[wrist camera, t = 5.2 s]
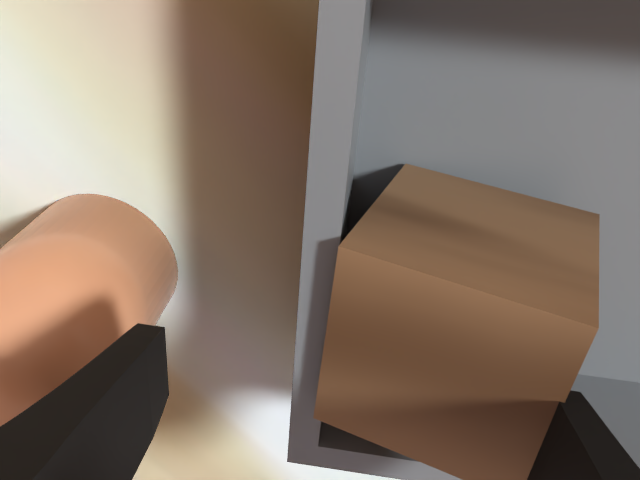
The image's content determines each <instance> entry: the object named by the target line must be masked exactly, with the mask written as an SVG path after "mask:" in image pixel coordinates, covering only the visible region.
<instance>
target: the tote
mask: <svg viewBox="0 0 640 480" xmlns="http://www.w3.org/2000/svg"><path fill="white" fill-rule="evenodd" d="M405 164H410V165H414V166H417V167H421V168H425V169H429V170H433V171H436V172H440V173H444V174H448V175H452V176H455V177H459V178H463V179H467V180H471V181H475V182H478V183H482V184H486V185H490V186H494V187H497V188H501V189H505V190H509V191H513V192H516V193H520V194H524V195H528V196H532V197H535V198H539V199H543V200H547V201H551V202H554V203H558V204H562V205H566V206H570V207H574V208H577V209H581V210H585V211H589V212H593V213H596V214H600V223H599V329H598V331H597V333H596V335H595V338H594V340H593V342H592V344H591V346H590V349H589V351H588V353H587V355H586V357H585V359H584V362H583V364H582V366H581V368H580V370H579V373H578V375H577V377H576V379H575V381H574V383H573V386H572V388H571V391H578V392H581V393H582V394H583V396H584V397H585V398H586V399H587V401H588V402H589V403H590V405H591V406H592V407H593V409H594V410H595V411H596V413H597V414H598V415H599V416H600V418H601V419H602V420H603V422H604V423H605V424H606V426H607V427H608V428H609V430H610V431H611V432H612V434H613V435H614V436H615V438H616V439H617V440H618V441H619V443H620V444H621V445H622V447H623V448H624V449H625V450H626V452H627V453H628V454H629V456H630V457H631V458H632V459H633V461H634V462H635V463H636V464H637V466H638V467H639V468H640V0H319V10H318V25H317V39H316V54H315V68H314V83H313V97H312V111H311V126H310V140H309V155H308V169H307V184H306V198H305V213H304V227H303V242H302V256H301V271H300V285H299V299H298V314H297V328H296V343H295V357H294V372H293V386H292V401H291V415H290V430H289V444H288V458H287V462H292V463H298V464H305V465H311V466H318V467H324V468H331V469H337V470H344V471H350V472H357V473H363V474H369V475H376V476H382V477H389V478H395V479H402V480H463V479H460V478H458V477H455V476H453V475H450V474H448V473H446V472H443V471H441V470H438V469H436V468H433V467H431V466H429V465H426V464H424V463H421V462H419V461H416V460H414V459H412V458H409V457H407V456H404V455H402V454H399V453H397V452H395V451H392V450H390V449H387V448H385V447H382V446H380V445H378V444H375V443H373V442H370V441H368V440H365V439H363V438H361V437H358V436H356V435H353V434H351V433H348V432H346V431H344V430H341V429H339V428H336V427H334V426H331V425H329V424H327V423H324V422H322V421H319V420H317V419H314V418H313V416H314V409H315V402H316V396H317V389H318V382H319V375H320V368H321V362H322V355H323V348H324V341H325V334H326V328H327V321H328V314H329V307H330V301H331V294H332V287H333V280H334V273H335V267H336V260H337V253H338V246H339V245H340V244H341V242H342V241H343V240H344V239H345V238H346V236H347V235H348V234H349V233H350V231H351V230H352V229H353V228H354V226H355V225H356V224H357V223H358V222H359V220H360V219H361V218H362V217H363V215H364V214H365V213H366V212H367V211H368V209H369V208H370V207H371V206H372V204H373V203H374V202H375V201H376V199H377V198H378V197H379V196H380V195H381V193H382V192H383V191H384V190H385V188H386V187H387V186H388V185H389V183H390V182H391V181H392V180H393V179H394V177H395V176H396V175H397V174H398V172H399V171H400V170H401V169H402V167H403V166H404V165H405Z"/></svg>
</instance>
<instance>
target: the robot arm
mask: <svg viewBox="0 0 640 480" xmlns="http://www.w3.org/2000/svg"><path fill="white" fill-rule="evenodd" d="M168 396H169V388H168V372H167V357H166V341H165V327H159V326H153V325H146V324H140V323H137V324H136V325H135V326H133V327H132V328H131V329H129V330H128V331H127V332H126V333H125V334H123V335H122V336H121V337H120V338H118V339H117V340H116V341H115V342H114V343H112V344H111V345H110V346H109V347H107V348H106V349H105V350H104V351H103V352H101V353H100V354H99V355H98V356H96V357H95V358H94V359H93V360H91V361H90V362H89V363H88V364H86V365H85V366H84V367H83V368H81V369H80V370H79V371H77V372H76V373H75V374H74V375H72V376H71V377H70V378H68V379H67V380H66V381H65V382H63V383H62V384H61V385H59V386H58V387H57V388H55V389H54V390H53V391H51V392H50V393H48V394H47V395H46V396H44V397H43V398H41V399H40V400H39V401H37V402H36V403H34V404H33V405H31V406H30V407H29V408H27V409H26V410H24V411H23V412H22V413H20V414H19V415H17V416H16V417H14V418H13V419H11V420H10V421H8V422H6V423H5V424H3V425H2V426H0V480H132V479H133V477H134V475H135V473H136V471H137V469H138V467H139V465H140V463H141V461H142V459H143V457H144V455H145V453H146V451H147V449H148V447H149V445H150V443H151V441H152V439H153V437H154V434H155V432H156V429H157V426H158V424H159V421H160V418H161V416H162V413H163V410H164V407H165V404H166V401H167V399H168ZM527 480H640V468H639V467H638V466H637V464H636V463H635V462H634V461H633V459H632V458H631V457H630V456H629V454H628V453H627V452H626V450H625V449H624V448H623V447H622V445H621V444H620V443H619V441H618V440H617V439H616V438H615V436H614V435H613V434H612V432H611V431H610V430H609V428H608V427H607V426H606V424H605V423H604V422H603V420H602V419H601V418H600V416H599V415H598V414H597V413H596V411H595V410H594V409H593V407H592V406H591V405H590V403H589V402H588V401H587V399H586V398H585V397H584V396H583V394H582V393H581V392H578V391H571V390H570V392H569V394H568V397H567V399H566V401H565V403H563V402H560V401H559V404H558V406H557V409H556V411H555V413H554V416H553V418H552V421H551V423H550V425H549V428H548V430H547V433H546V435H545V437H544V440H543V442H542V445H541V447H540V449H539V452H538V454H537V457H536V459H535V461H534V464H533V466H532V469H531V471H530V473H529V476H528V478H527Z"/></svg>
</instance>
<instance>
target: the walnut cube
mask: <svg viewBox="0 0 640 480" xmlns="http://www.w3.org/2000/svg"><path fill="white" fill-rule="evenodd" d="M599 223H600V214H596V213H593V212H589V211H585V210H581V209H577V208H574V207H570V206H566V205H562V204H558V203H554V202H551V201H547V200H543V199H539V198H535V197H532V196H528V195H524V194H520V193H516V192H513V191H509V190H505V189H501V188H497V187H494V186H490V185H486V184H482V183H478V182H475V181H471V180H467V179H463V178H459V177H455V176H452V175H448V174H444V173H440V172H436V171H433V170H429V169H425V168H421V167H417V166H414V165H410V164H405V165H404V166H403V167H402V169H401V170H400V171H399V172H398V174H397V175H396V176H395V177H394V179H393V180H392V181H391V182H390V183H389V185H388V186H387V187H386V188H385V190H384V191H383V192H382V193H381V195H380V196H379V197H378V198H377V199H376V201H375V202H374V203H373V204H372V206H371V207H370V208H369V209H368V211H367V212H366V213H365V214H364V215H363V217H362V218H361V219H360V220H359V222H358V223H357V224H356V225H355V226H354V228H353V229H352V230H351V231H350V233H349V234H348V235H347V236H346V238H345V239H344V240H343V241H342V242H341V244H340V245H339V246H338V253H337V260H336V267H335V273H334V280H333V287H332V294H331V301H330V307H329V314H328V321H327V328H326V334H325V341H324V348H323V355H322V362H321V368H320V375H319V382H318V389H317V396H316V402H315V409H314V416H313V418H314V419H317V420H319V421H322V422H324V423H327V424H329V425H331V426H334V427H336V428H339V429H341V430H344V431H346V432H348V433H351V434H353V435H356V436H358V437H361V438H363V439H365V440H368V441H370V442H373V443H375V444H378V445H380V446H382V447H385V448H387V449H390V450H392V451H395V452H397V453H399V454H402V455H404V456H407V457H409V458H412V459H414V460H416V461H419V462H421V463H424V464H426V465H429V466H431V467H433V468H436V469H438V470H441V471H443V472H446V473H448V474H450V475H453V476H455V477H458V478H460V479H463V480H527V478H528V476H529V473H530V471H531V469H532V466H533V464H534V461H535V459H536V457H537V454H538V452H539V449H540V447H541V445H542V442H543V440H544V437H545V435H546V433H547V430H548V428H549V425H550V423H551V421H552V418H553V416H554V413H555V411H556V409H557V406H558V404H559V401H560V402H563V403H565V401H566V399H567V397H568V394H569V392H570V390H571V388H572V386H573V383H574V381H575V379H576V377H577V375H578V373H579V370H580V368H581V366H582V364H583V362H584V359H585V357H586V355H587V353H588V351H589V349H590V346H591V344H592V342H593V340H594V338H595V335H596V333H597V331H598V329H599Z"/></svg>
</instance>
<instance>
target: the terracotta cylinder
mask: <svg viewBox="0 0 640 480" xmlns="http://www.w3.org/2000/svg"><path fill="white" fill-rule="evenodd" d="M177 280H178V268H177V261H176V258H175V254H174V252H173V249H172V247H171V245H170V243H169V242H168V240H167V238H166V237H165V235H164V234H163V233H162V231H161V230H160V229H159V228H158V227H157V226H156V224H155V223H154V222H153V221H152V220H150V219H149V218H148V217H147V216H146V215H144V214H143V213H142V212H140V211H139V210H137V209H136V208H134V207H132V206H130V205H129V204H127V203H124V202H122V201H120V200H117V199H114V198H111V197H108V196H103V195H97V194H77V195H72V196H68V197H65V198H62V199H60V200H58V201H56V202H55V203H53V204H52V205H51V206H49V207H48V208H47V209H46V210H44V211H43V212H42V213H41V214H40V215H39V216H37V217H36V218H35V219H34V220H33V221H32V222H31V223H29V224H28V225H27V226H26V227H25V228H24V229H22V230H21V231H20V232H19V233H18V234H17V235H15V236H14V237H13V238H12V239H11V240H10V241H8V242H7V243H6V244H5V245H4V246H3V247H1V248H0V426H2V425H3V424H5V423H6V422H8V421H10V420H11V419H13V418H14V417H16V416H17V415H19V414H20V413H22V412H23V411H24V410H26V409H27V408H29V407H30V406H31V405H33V404H34V403H36V402H37V401H39V400H40V399H41V398H43V397H44V396H46V395H47V394H48V393H50V392H51V391H53V390H54V389H55V388H57V387H58V386H59V385H61V384H62V383H63V382H65V381H66V380H67V379H68V378H70V377H71V376H72V375H74V374H75V373H76V372H77V371H79V370H80V369H81V368H83V367H84V366H85V365H86V364H88V363H89V362H90V361H91V360H93V359H94V358H95V357H96V356H98V355H99V354H100V353H101V352H103V351H104V350H105V349H106V348H107V347H109V346H110V345H111V344H112V343H114V342H115V341H116V340H117V339H118V338H120V337H121V336H122V335H123V334H125V333H126V332H127V331H128V330H129V329H131V328H132V327H133V326H135V325H136V324H137V323H140V324H146V325H153V326H155V324H156V323H157V321H158V319H159V318H160V316H161V314H162V312H163V311H164V309H165V307H166V306H167V304H168V302H169V301H170V299H171V297H172V295H173V294H174V291H175V288H176V285H177Z"/></svg>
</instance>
